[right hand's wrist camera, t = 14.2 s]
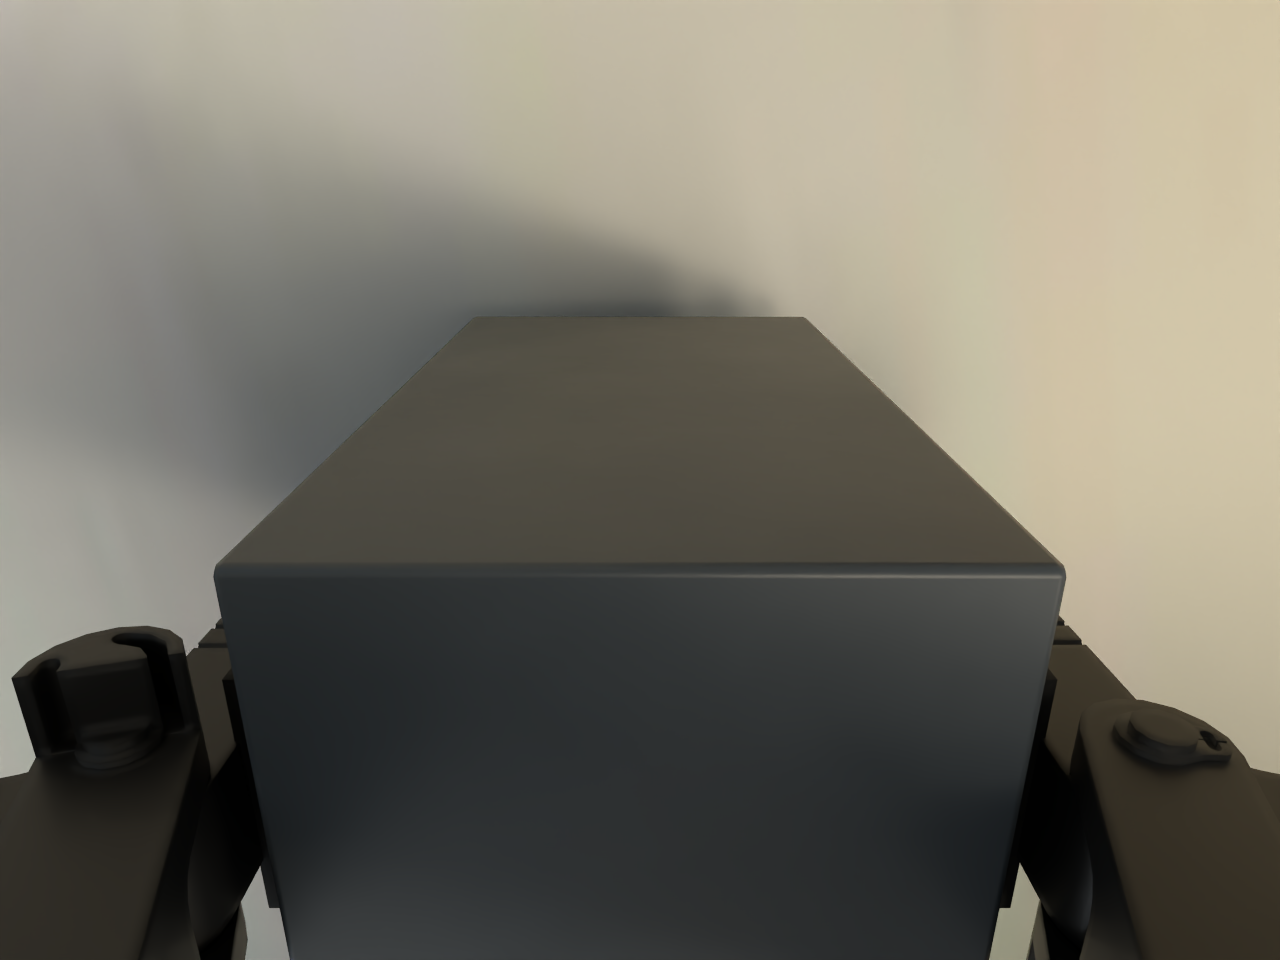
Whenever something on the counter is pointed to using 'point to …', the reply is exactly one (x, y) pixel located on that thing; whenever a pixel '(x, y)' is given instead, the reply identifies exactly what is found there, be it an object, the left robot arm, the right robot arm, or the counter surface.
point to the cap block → (639, 660)
